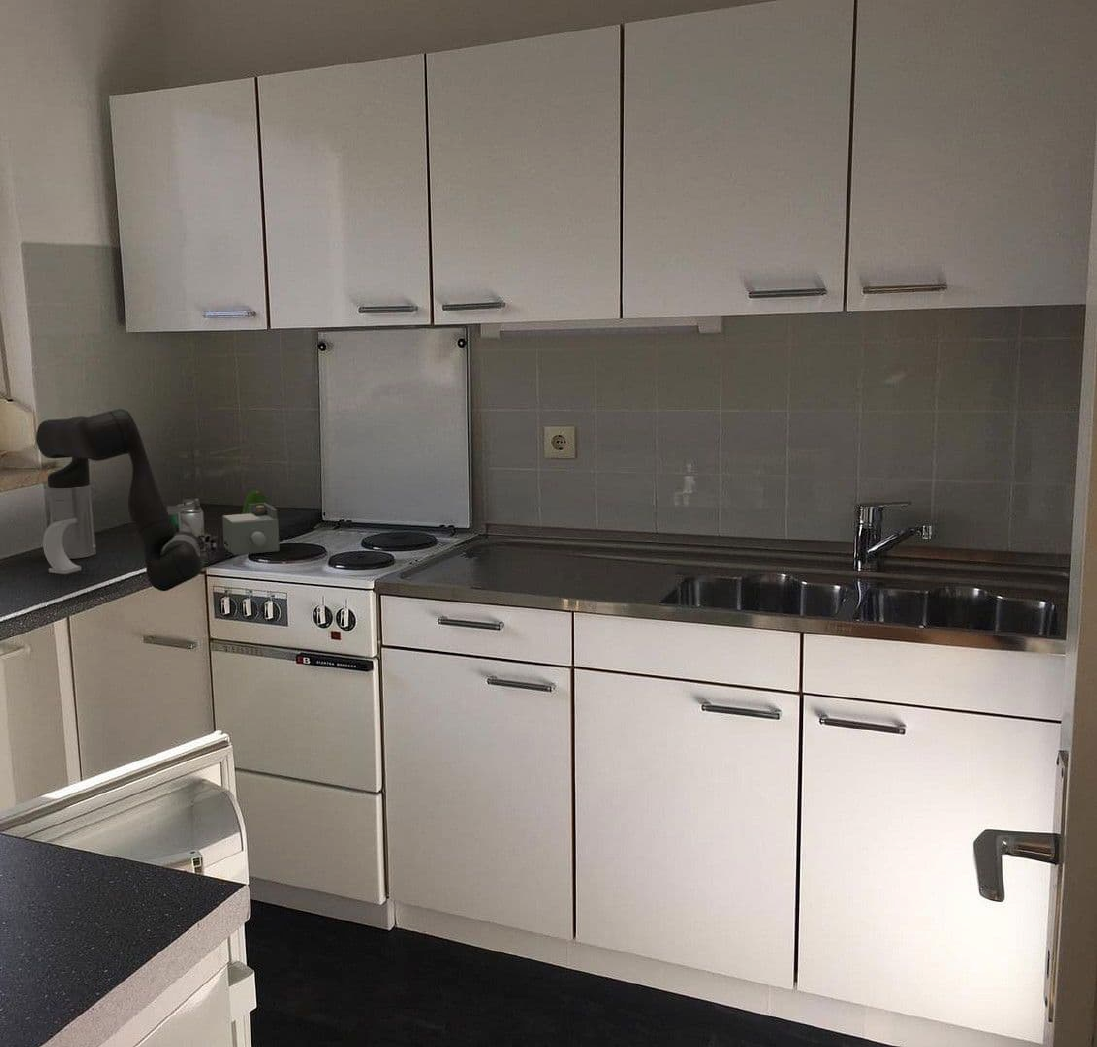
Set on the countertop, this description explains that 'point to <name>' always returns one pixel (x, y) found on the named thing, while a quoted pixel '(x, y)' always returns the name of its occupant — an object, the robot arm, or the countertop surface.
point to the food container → (175, 510)
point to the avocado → (254, 500)
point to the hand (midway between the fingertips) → (188, 537)
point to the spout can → (192, 521)
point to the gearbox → (252, 530)
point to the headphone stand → (58, 548)
